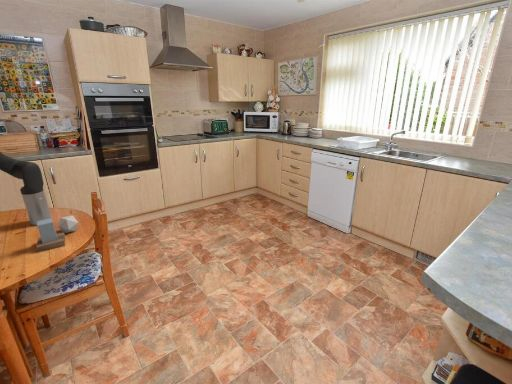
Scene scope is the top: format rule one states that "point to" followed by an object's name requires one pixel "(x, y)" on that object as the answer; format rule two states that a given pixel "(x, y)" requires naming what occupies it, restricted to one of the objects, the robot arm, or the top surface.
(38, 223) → the gray block
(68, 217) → the die
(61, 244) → the walnut base
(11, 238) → the top surface
